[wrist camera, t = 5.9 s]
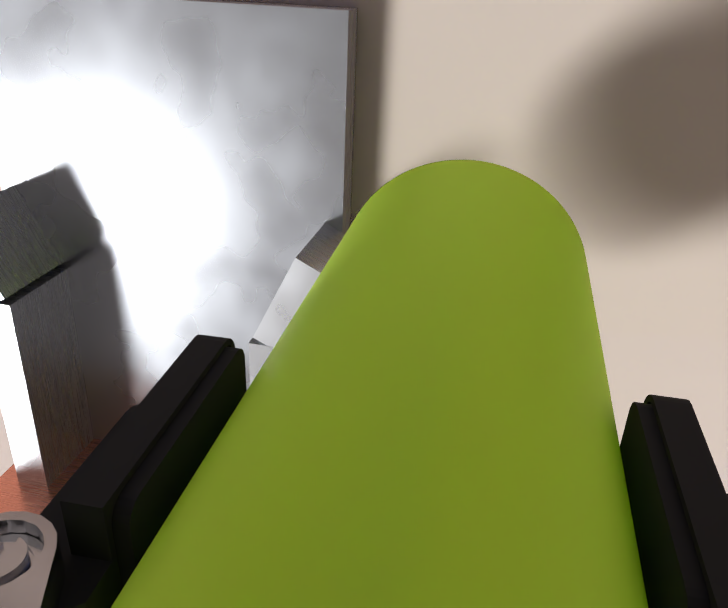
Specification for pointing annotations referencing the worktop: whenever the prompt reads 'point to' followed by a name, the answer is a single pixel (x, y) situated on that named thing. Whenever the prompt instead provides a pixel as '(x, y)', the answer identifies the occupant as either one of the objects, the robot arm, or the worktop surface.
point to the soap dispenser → (419, 426)
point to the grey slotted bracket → (156, 201)
